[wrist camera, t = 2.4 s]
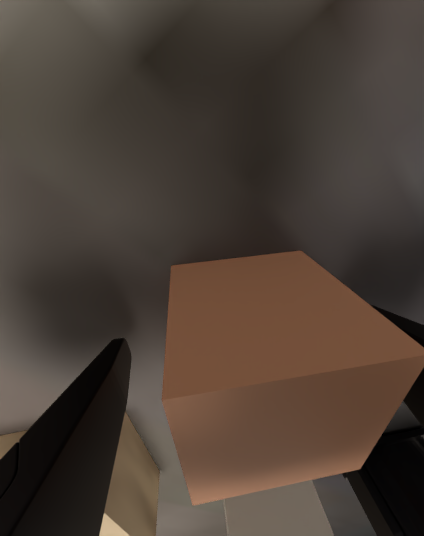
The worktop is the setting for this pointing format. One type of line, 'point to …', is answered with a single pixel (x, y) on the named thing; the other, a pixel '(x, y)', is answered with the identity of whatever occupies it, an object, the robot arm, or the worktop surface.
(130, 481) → the oak base block
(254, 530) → the offwhite cube
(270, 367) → the terracotta cube
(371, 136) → the worktop surface
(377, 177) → the worktop surface
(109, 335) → the worktop surface
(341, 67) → the worktop surface
